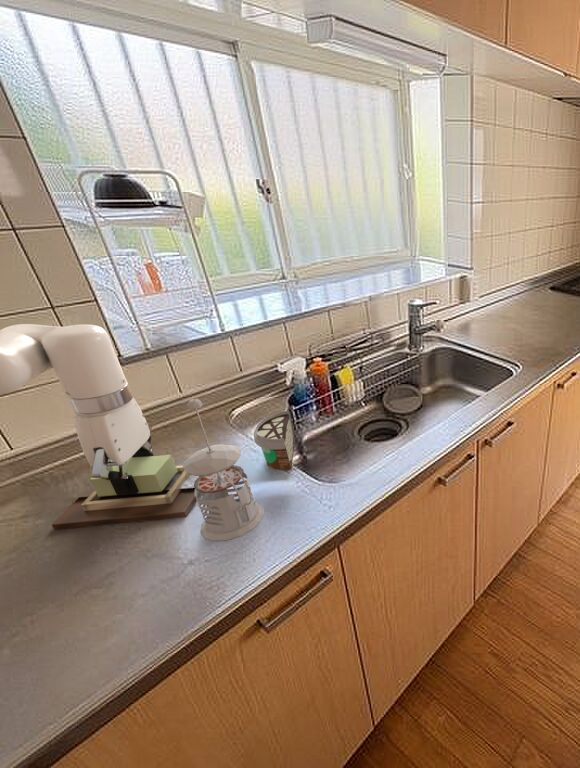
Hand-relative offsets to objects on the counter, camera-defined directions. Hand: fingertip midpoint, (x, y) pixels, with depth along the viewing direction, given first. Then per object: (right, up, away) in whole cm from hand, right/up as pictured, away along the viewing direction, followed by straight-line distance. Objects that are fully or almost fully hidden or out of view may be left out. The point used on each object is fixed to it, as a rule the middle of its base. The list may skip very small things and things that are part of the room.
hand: (138, 480), depth 79 cm
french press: (+21, -7, -3) cm, 22 cm away
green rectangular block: (0, -1, 0) cm, 1 cm away
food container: (+20, +1, +11) cm, 23 cm away
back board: (0, -3, +2) cm, 3 cm away
